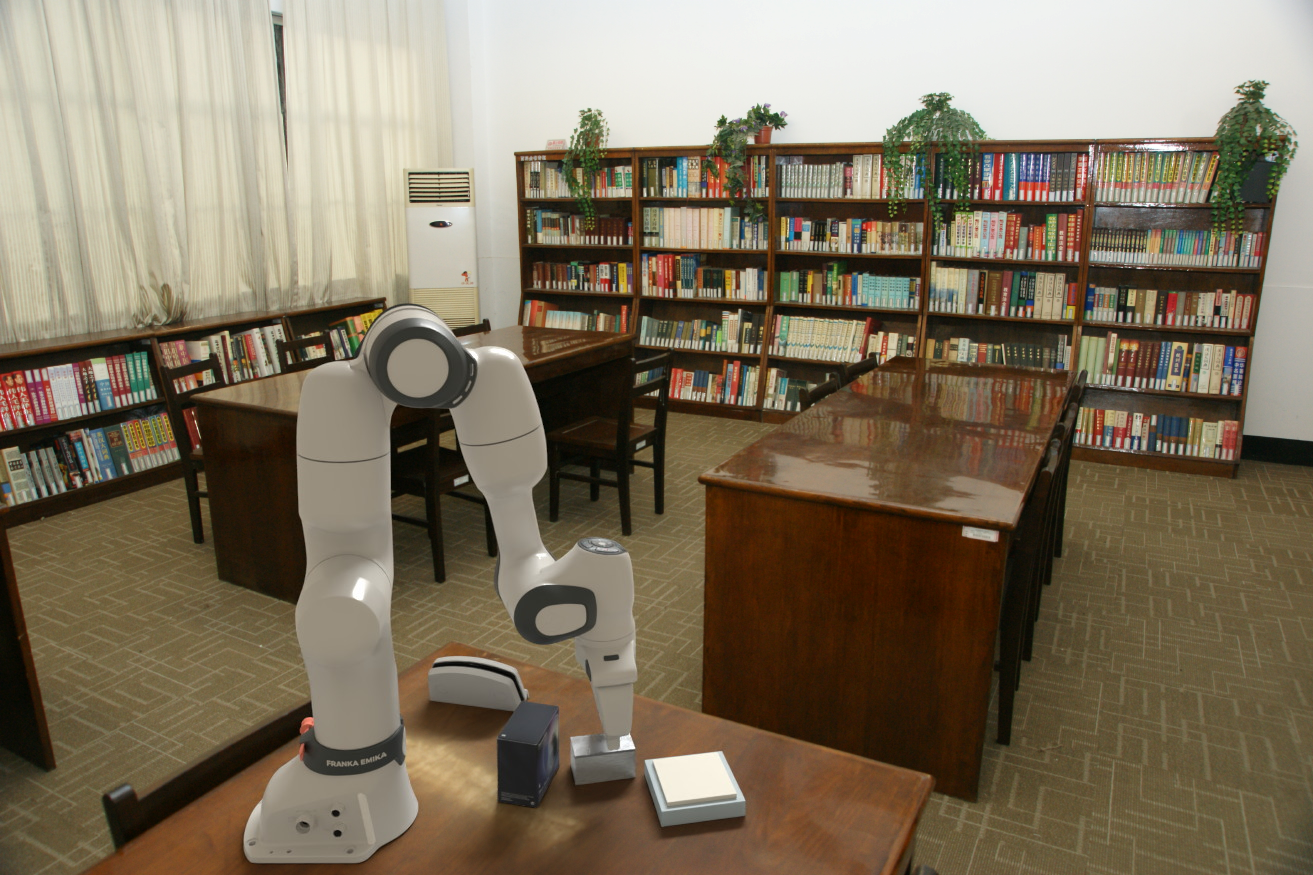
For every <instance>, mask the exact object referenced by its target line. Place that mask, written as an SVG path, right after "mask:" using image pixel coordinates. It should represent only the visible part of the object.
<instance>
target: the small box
mask: <svg viewBox="0 0 1313 875" xmlns="http://www.w3.org/2000/svg"><path fill="white" fill-rule="evenodd" d="M496 767H497V769H496V771H497V772H496V773H497V792H496V793H497V798H496V801H497V803H505V804H512V805H516V806H523V807H527V808H528V807H529V808H536V809H537V808H538V806H539V805H540V803H541V802H542V799H543V797H544V795H545V794H546V792H547V789H548V788H549V786H550V784H551V783H552V781H553V779H554V776H555V775H556V774H557V771H558V770H559V767H560V706H559V705H554V704H545V703H541V702H540V703H539V702H538V703H537V702H533V701H532V702H531V701H527V700H526V701H521V702H520V704H519V705H518V707H517V708H516V710H515V711H513V713H512V715H511V716H510V718H509V719H508V721H507V722H506V723H505V725H504V726H503V728H502V730H500V732H499V734H498V735H497V737H496Z"/></svg>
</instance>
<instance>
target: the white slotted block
mask: <svg viewBox="0 0 1313 875" xmlns="http://www.w3.org/2000/svg"><path fill="white" fill-rule="evenodd" d="M427 674H428V675H427V683H428V685H427V686H428V694H429V701H433V702H440V703H446V704H447V703H448V704H456V705H462V706H470V707H478V708H486V709H493V710H501V711H507V712H514V711H515V710H516V708H517V707H518V705H519V704H520V702H521V701H527V699H529V698H530V696H529V695H530V694H529V690H528V689H526V688H524V684H523V681H522V679H521V676H520V674H519V671H518V670H517V668H516V667H514V666H511V665H508V664H506V663H503V662H499V661H496V660H492V659H489V658H483V657H477V656H468V655H467V656H465V655H464V656H463V655H453V656H443V657H437V658H436V659H435V660H434V662H433V663H432V664H431V668H430V669H429V670H428V673H427Z"/></svg>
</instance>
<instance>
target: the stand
mask: <svg viewBox="0 0 1313 875" xmlns="http://www.w3.org/2000/svg"><path fill="white" fill-rule="evenodd" d="M643 775H644V777H645V781H646V782H647V786H648V790H649V792H650V795H651V798H652V801H653V803H654V804H653V805H654V807H655V810H656V813H657V817H658V820H659V824H660V826H661V827H662V828H664V827H670V826H678V825H685V824H691V823H693V824H694V823H700V822H707V821H716V820H721V819H729V818H738V817H745V816H746V804H747V803H746V802H747V801H746V799H745V797H744V794H743V792H742V790H741V788H740V786H739V784H738V782H737V779H736V778H735V776H734V773H733V772H732V769H731V767H730V765H729V763H728V761H727V758H726V757H725V755H724V753H723V751H722V750H721V751H720V750H718V751H711V752H710V751H709V752H703V753H694V754H685V755H677V756H676V755H675V756H668V757H667V756H666V757H659V758H651V759H650V758H649V759H645V760H644V774H643Z"/></svg>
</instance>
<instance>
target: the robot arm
mask: <svg viewBox="0 0 1313 875" xmlns="http://www.w3.org/2000/svg"><path fill="white" fill-rule="evenodd" d="M299 396H300V397H299V404H298V410H297V419H296V420H297V422H296V465H297V466H296V469H297V470H296V471H297V496H298V497H297V498H298V502H297V503H298V515H299V518H300V520H301V524H302V531H303V537H304V543H305V553H306V570H305V577H304V582H303V585H302V589H301V591H300V594H299V598H298V601H297V603H296V606H295V613H294V616H295V617H294V618H295V631H296V637H297V641H298V644H299V647H300V651H301V656H302V660H303V663H304V667H305V670H306V673H307V678H308V682H309V690H310V699H311V710H312V717H311V716H310V717H309V716H308V717H305V718H304V719H303V720H302V722H301V726H300V728H299V734H301V736H300V738H299V742H298V743H299V744H298V746H299V751H298V754H297V755H296V756H295V757H293V758H292V759H290V760H289V761H287V763H286V762H285V764H284V765H282V766H281V767H279V768H278V769H277V770H276V771H275V772H274V774H273V775H272V777H271V778H270V780H269V782H268V783H267V785H266V788H265V790H264V793H263V797H262V799H261V800H260V801H259V802H258V803H257V804H256V806H255V807H254V808H253V810H252V812H251V813H250V816H249V818H248V820H247V822H246V825H245V829H244V833H243V852H244V855H245V857H246V859H247V860H248V861H249V862H250V863H253V864H359V863H362V862H365V861H367V860H368V859H369V858H370V857H371V856H372V855H373V854H374V853H376V851H377V850H378V849H380V848H381V847H382V846H384V845H386V844H388V843H389V842H391V841H393V840H395V839H397V838H398V837H400V836H401V835H402V834H403V833H405V832H406V831H407V830H408V828H409V827H410V826H411V825H412V824H413V823H414V822H415V820H416V818H417V815H418V812H419V802H418V800H417V799H418V798H417V797H416V795H415V792H414V790H413V788H412V784H411V782H410V776H409V774H408V770H407V765H406V755H407V736H406V735H407V734H406V726H405V724H404V722H405V721H404V718H403V717H404V716H403V715H402V714H401V712H400V711H401V709H400V698H399V693H400V692H399V684H398V683H399V681H398V680H399V678H398V668H397V663H396V659H395V653H394V644H393V635H392V627H391V626H392V625H391V605H392V596H393V595H392V594H393V584H394V574H395V573H394V571H395V570H394V545H393V544H394V542H393V541H394V540H393V524H392V523H393V522H392V520H393V518H392V506H391V505H392V502H391V500H392V499H391V498H392V496H391V495H392V492H391V490H392V489H391V485H392V484H391V477H392V476H391V473H392V472H391V420H392V415H393V413H394V411H395V408H396V407H397V406H398V405H400V406H403V407H409V408H414V409H416V408H417V409H428V408H429V409H449V412H450V414H451V416H452V420H453V423H454V427H455V430H456V431H455V432H456V435H457V439H458V443H459V447H460V450H461V454H462V456H463V460H464V462H465V465H466V467H467V470H468V472H469V474H470V476H471V478H472V480H473V482H474V484H475V486H476V488H477V490H479V491H480V492H481V494H482V495H483V496H484V498H485V500H486V502H487V505H488V509H489V514H490V518H491V522H492V526H493V530H494V535H495V540H496V543H497V556H496V563H495V567H494V573H493V586H494V590H495V593H496V595H497V597H498V598H499V600H500V601H501V602H502V604H503V605H504V608H505V610H506V612H507V613H508V616H509V617H510V620H511V621H512V623H513V626H514V627H515V629H516V631H517V632H518V634H519V635H520V636H521V637H522V638H523V639H524V640H525V641H527V642H529V643H532V644H535V645H540V646H541V645H542V646H548V645H554V644H557V643H560V642H564V641H567V640H571V639H573V638H574V655H575V656H574V657H575V660H576V662H577V663H578V665H580V666H581V668H582V669H583V671H584V672H585V673H586V675H587V678H588V680H589V683H590V687H591V689H592V693H593V697H594V701H595V704H596V709H597V714H598V716H599V718H600V720H599V721H600V723H601V728H602V733H604V735H605V737H606V744H607V748H608V750H610V751H612V750H618V749H619V748H620V737H622V736H627V735H629V733H630V734H631V730H632V725H633V710H634V706H633V705H634V683H635V682H637V681H638V668H637V662H636V655H637V654H636V653H637V652H636V650H637V647H636V622H635V619H634V615H633V608H634V607H633V606H634V603H635V582H634V573H633V571H634V570H633V565H632V559H631V556H630V554H629V551H628V550H627V549H626V548H625V547H624V546H623V545H622V544H620V543H619V542H617V541H615V540H612V539H609V538H605V537H600V536H588V537H585V538H580V539H578V541H577V542H576V543H575V545H574V546H573V547H572V548H571V549H570V550H569V551H568V552H567V553H565V554H564V555H563V556H562V557H560V558H559V559H556V557H555V556H554V555H553V553H552V552H551V551H550V550H549V548H547V546H546V545H545V544H544V543H543V540H542V538H541V535H540V529H539V525H538V520H537V514H536V510H535V506H534V504H535V503H534V501H533V488H534V487H535V486H536V485H537V484H538V483H539V482H540V481H541V480H542V479H543V477H544V476H545V473H546V472H547V469H548V452H547V449H548V448H547V438H546V434H545V429H544V425H543V424H544V423H543V419H542V417H541V413H540V408H539V404H538V402H537V401H538V400H537V399H536V394H535V392H534V390H533V387H532V384H531V382H530V378H529V376H528V374H527V372H526V370H525V368H524V365H523V363H522V361H521V359H520V358H519V357H518V356H517V354H516V353H514V352H513V351H512V350H510V349H507V348H504V347H501V346H497V345H495V346H494V345H493V346H490V345H488V346H487V345H485V346H481V347H480V346H479V347H475V348H471V347H465V346H464V345H463V344H462V343H461V342H460V341H459V340H458V338H457V336H456V335H455V334H454V331H453V330H452V328H451V327H450V326H449V325H448V324H447V322H446V321H445V320H444V319H443V318H442V317H441V316H439V314H438V313H436V312H435V311H433V309H430V308H429V307H426V306H425V305H422V304H417V303H412V302H411V303H410V302H409V303H405V302H403V303H399V304H395V305H392V306H390V307H387V308H386V309H384V310H383V311H382V312H380V313H379V314H378V315H377V316H376V317H374V319H373V321H372V322H370V325H369V326H368V329H367V330H366V332H365V333H364V336H363V337H362V339H361V341H360V342H359V344H358V346H357V347H356V349H355V350H354V354H353V359H350V360H336V361H331V362H326V363H324V364H321V365H318V366H316V367H315V368H314V369H311V371H309V372H308V374H307V375H306V376H305V378H304V380H303V382H302V386H301V392H300V395H299Z"/></svg>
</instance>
